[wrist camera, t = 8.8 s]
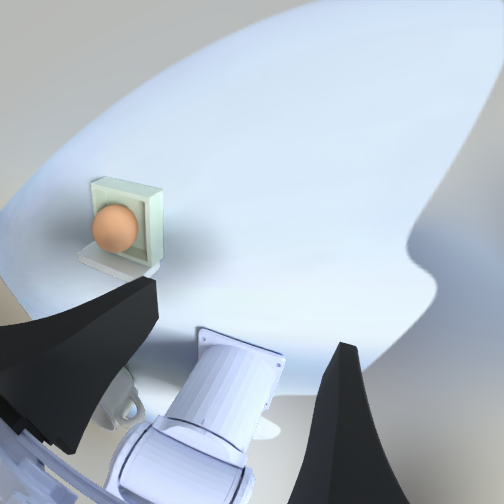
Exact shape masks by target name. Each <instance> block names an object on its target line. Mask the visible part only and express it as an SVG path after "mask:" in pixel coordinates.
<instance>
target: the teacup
mask: <svg viewBox="0 0 504 504" xmlns="http://www.w3.org/2000/svg"><path fill="white" fill-rule="evenodd" d="M134 403H135V405H136V407H137V414H136V415H135V416H134V417H133V418H131V419H128V420H126V419H124V417H125V416H126V415H127V413H128V412H129V411H130V409H131V408H132V406H133V404H134ZM144 419H145V409H144V406H143V404H142V402H141V400H140V399H139V397H138V391H137V389H136V388H135V387H134V382H133V378H132V376H131V374H130V373H129V371H128V370H127V369H126V367H125V366H124V367H123V368H122V369H121V370H120V371H119V373H118V374H117V375H116V377H115V378H114V379H113V381H112V382H111V384H110V385H109V387H108V389H107V390H106V392H105V393H104V395H103V397H102V398H101V400H100V402H99V404H98V405H97V407H96V409H95V411H94V413H93V415H92V417H91V419H90V421H91V422H92V423H94V424H95V425H97V426H98V427H100V428H102V429H104V430H106V431H109V432H114V431H116V429H117V426H118V425H119V424H120V425H121V426H122V427H124V428H127V429H131V428H132V427H133V426H134V425H135V424H137V423H141V422H143V421H144Z"/></svg>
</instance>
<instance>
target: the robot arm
mask: <svg viewBox="0 0 504 504" xmlns="http://www.w3.org/2000/svg"><path fill="white" fill-rule="evenodd" d="M158 318H159V314H158V303H157V291H156V280H153V279H150V278H148V277H145V276H141V277H139V278H137V279H135V280H133V281H130V282H128V283H126V284H124V285H122V286H120V287H118V288H116V289H114V290H112V291H110V292H108V293H106V294H104V295H102V296H100V297H98V298H95V299H93V300H91V301H88V302H86V303H84V304H82V305H79V306H77V307H75V308H72V309H70V310H67V311H64V312H61V313H58V314H55V315H52V316H49V317H45V318H42V319H38V320H34V321H30V322H26V323H20V324H14V325H8V326H0V498H1V500H0V504H74V503H75V501H76V500H77V498H78V496H77V495H76V494H74V493H73V492H72V491H71V490H69V489H68V488H67V487H66V486H64V485H63V484H62V483H60V482H59V481H58V480H56V479H55V478H53V477H52V476H51V475H49V474H48V473H47V472H45V469H44V464H45V465H46V466H47V467H48V468H50V469H51V470H52V471H53V472H55V473H56V474H57V475H58V476H60V477H61V478H62V479H64V480H65V481H66V482H68V483H69V484H70V485H72V486H73V487H74V488H76V489H77V490H79V491H80V492H81V493H83V494H84V495H86V496H87V497H89V498H90V499H92V500H93V501H95V502H96V503H98V504H247V503H248V501H249V499H250V496H251V493H252V491H253V487H254V483H255V476H254V474H253V471H252V469H251V468H250V467H248V466H245V463H246V461H247V458H248V455H246V454H245V453H246V451H247V448H248V446H249V444H250V441H251V439H252V436H253V434H254V431H255V429H256V426H257V424H258V421H259V419H260V416H261V414H262V411H263V410H268V408H269V405H270V403H271V400H272V397H273V395H274V392H275V389H276V387H277V384H278V381H279V378H280V376H281V373H282V370H283V367H284V365H285V362H286V358H285V357H284V356H282V355H279V354H276V353H273V352H270V351H267V350H264V349H261V348H258V347H255V346H252V345H249V344H246V343H243V342H240V341H237V340H234V339H231V338H229V337H226V336H223V335H220V334H218V333H215V332H212V331H209V330H207V329H200V331H199V334H198V362H197V364H196V366H195V367H194V369H193V370H192V372H191V374H190V375H189V377H188V379H187V380H186V382H185V383H184V385H183V387H182V388H181V390H180V392H179V393H178V395H177V396H176V398H175V400H174V401H173V403H172V404H171V406H170V408H169V409H168V411H167V412H166V414H165V416H164V417H163V416H161V415H158V417H157V418H156V420H155V421H154V423H152V422H150V421H143V422H141V423H137V424H135V425H134V426H133V427H132V428H131V429H130V430H129V431H128V432H127V433H126V434H125V436H124V437H123V439H122V440H121V442H120V443H119V445H118V447H117V448H116V450H115V452H114V454H113V457H112V459H111V462H110V466H109V473H108V476H107V479H106V482H105V484H104V487H103V488H102V487H100V486H98V485H97V484H95V483H94V482H92V481H91V480H89V479H88V478H86V477H85V476H84V475H82V474H81V473H79V472H78V471H77V470H75V469H74V468H72V467H71V466H70V465H68V464H67V463H66V462H64V461H63V460H62V459H60V458H59V457H58V456H57V455H55V454H54V453H53V452H51V451H50V450H49V449H48V448H47V447H46V446H44V445H43V444H42V443H43V441H45V442H47V443H48V444H49V445H52V444H54V445H55V446H57V447H58V448H59V449H61V450H62V451H63V452H64V453H66V454H68V455H70V454H75V452H76V449H77V447H78V445H79V442H80V440H81V438H82V435H83V433H84V431H85V428H86V427H87V425H88V423H89V421H90V419H91V417H92V415H93V413H94V411H95V409H96V407H97V405H98V404H99V402H100V400H101V398H102V397H103V395H104V393H105V392H106V390H107V389H108V387H109V385H110V384H111V382H112V381H113V379H114V378H115V377H116V375H117V374H118V373H119V371H120V370H121V369H122V368H123V367H124V365H125V364H126V363H127V362H128V360H129V359H130V358H131V357H132V355H133V354H134V353H135V352H136V351H137V349H138V348H139V347H140V346H141V344H142V343H143V342H144V341H145V339H146V338H147V337H148V335H149V333H150V332H151V330H152V329H153V327H154V325H155V323H156V322H157V320H158ZM278 363H279V364H278ZM43 463H44V464H43ZM287 504H410V503H409V501H408V500H407V498H406V496H405V495H404V493H403V491H402V489H401V487H400V485H399V483H398V481H397V479H396V477H395V475H394V473H393V471H392V469H391V467H390V465H389V463H388V460H387V457H386V455H385V452H384V450H383V448H382V445H381V442H380V439H379V437H378V434H377V431H376V428H375V425H374V421H373V418H372V415H371V411H370V407H369V404H368V399H367V395H366V391H365V387H364V383H363V378H362V373H361V367H360V362H359V356H358V349H357V347H356V346H353V345H350V344H346V343H343V342H339V345H338V347H337V349H336V351H335V353H334V355H333V357H332V359H331V361H330V363H329V365H328V367H327V368H326V370H325V372H324V374H323V377H322V380H321V384H320V387H319V391H318V394H317V398H316V402H315V408H314V413H313V418H312V424H311V429H310V435H309V439H308V444H307V449H306V453H305V456H304V460H303V463H302V466H301V469H300V472H299V475H298V478H297V480H296V483H295V486H294V488H293V491H292V493H291V496H290V499H289V501H288V503H287Z"/></svg>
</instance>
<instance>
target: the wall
mask: <svg viewBox="0 0 504 504" xmlns="http://www.w3.org/2000/svg"><path fill="white" fill-rule="evenodd" d="M77 257H78V261H80V262H82V263H84V264H86V265H88V266H91V267H93V268H95V269H97V270H100V271H102V272H104V273H106V274H109V275H111V276H113V277H116V278H118V279H120V280H123V281H125V282H127V283H128V282H130V281H133V280H135V279H137V278H139V277H141V276H145V277H148V278H150V277H151V276H152V275H153V274H154V273H155V272H156V271H157V270H158V269H159V268H160V261H159V262H158V263H157V264H156V265H155V266H154V267H152V268H151V267H149V266H146V265H143V264H141V263H138V262H135V261H133V260H130V259H127V258H125V257H122V256H119V255H117V254H114V253H112V252H107V251H105V250H103V249H101V248H99V247H98V245H97V243H96V242H95V240H94V241H93V242H91V243H90V244H89V245H87V246H86V247H84V248H83V249H82V250H80V251H79V252H78V253H77Z"/></svg>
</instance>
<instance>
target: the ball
mask: <svg viewBox="0 0 504 504" xmlns="http://www.w3.org/2000/svg"><path fill="white" fill-rule="evenodd" d="M92 234H93V237H94V240H95V242H96V243H97V245H98V246H99V247H100V248H102V249H103V250H105V251H107V252H112V253H118V252H122V251H125V250H126V249H128V248H129V247H130V246H131V245H132V244H133V243H134V241H135V240H136V238H137V234H138V222H137V219H136V217H135V215H134V213H133V212H132V211H131V210H130V209H128V208H127V207H125V206H123V205H118V204H113V205H109V206H106V207H104V208H103V209H101V210H100V211H99V212H98V213H97V215H96V216H95V218H94V221H93V224H92Z"/></svg>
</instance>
